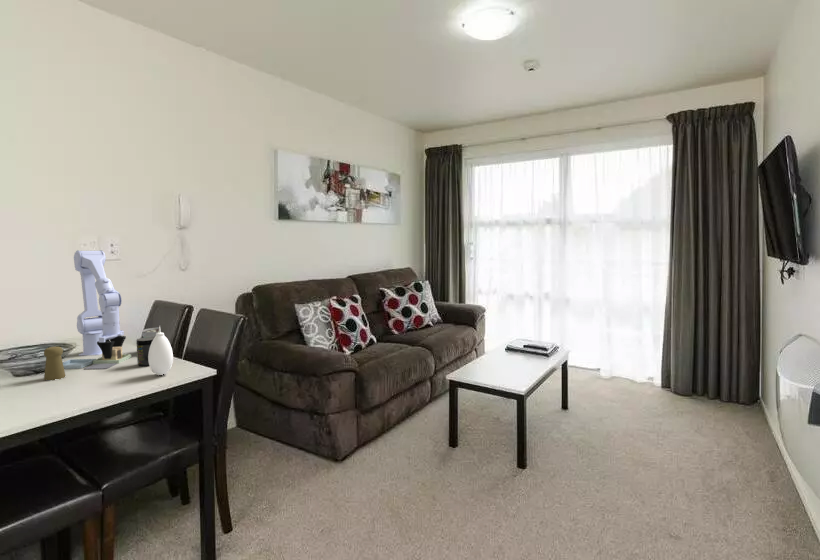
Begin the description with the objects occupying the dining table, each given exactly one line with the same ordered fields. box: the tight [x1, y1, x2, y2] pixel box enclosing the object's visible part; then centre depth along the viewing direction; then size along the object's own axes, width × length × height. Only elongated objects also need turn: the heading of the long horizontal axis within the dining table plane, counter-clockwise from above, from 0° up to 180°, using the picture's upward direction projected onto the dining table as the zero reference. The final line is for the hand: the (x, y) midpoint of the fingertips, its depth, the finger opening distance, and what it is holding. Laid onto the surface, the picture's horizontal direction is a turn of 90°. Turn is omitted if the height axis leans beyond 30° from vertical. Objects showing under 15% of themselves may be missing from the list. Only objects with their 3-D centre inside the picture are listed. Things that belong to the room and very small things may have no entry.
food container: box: [141, 327, 159, 338], centre depth 195 cm, size 12×6×10 cm, turn 25°
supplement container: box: [136, 337, 155, 368], centre depth 175 cm, size 7×7×10 cm
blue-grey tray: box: [62, 358, 97, 370], centre depth 174 cm, size 10×10×2 cm
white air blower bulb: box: [148, 325, 174, 376], centre depth 162 cm, size 8×8×18 cm
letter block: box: [101, 346, 123, 360], centre depth 181 cm, size 5×5×5 cm
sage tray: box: [92, 353, 132, 365], centre depth 181 cm, size 10×10×2 cm
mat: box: [83, 363, 118, 371], centre depth 172 cm, size 7×8×1 cm
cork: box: [43, 346, 66, 381], centre depth 158 cm, size 6×6×11 cm
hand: (112, 356), depth 181 cm, fingers open, 6 cm apart
